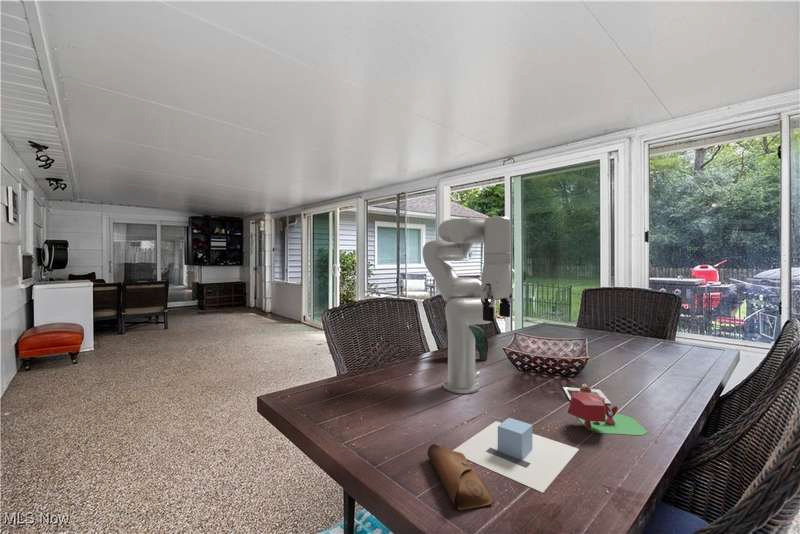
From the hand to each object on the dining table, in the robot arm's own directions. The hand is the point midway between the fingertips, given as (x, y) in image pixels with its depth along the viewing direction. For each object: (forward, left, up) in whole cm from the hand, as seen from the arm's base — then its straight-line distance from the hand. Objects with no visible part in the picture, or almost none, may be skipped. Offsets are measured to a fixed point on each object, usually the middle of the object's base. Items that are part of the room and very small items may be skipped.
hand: (496, 318), depth 106 cm
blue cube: (+15, +13, -28) cm, 34 cm away
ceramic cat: (-44, -39, -29) cm, 65 cm away
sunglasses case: (+34, +9, -28) cm, 45 cm away
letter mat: (+15, +13, -28) cm, 35 cm away
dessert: (-33, +15, -29) cm, 46 cm away
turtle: (-14, +24, -29) cm, 40 cm away
